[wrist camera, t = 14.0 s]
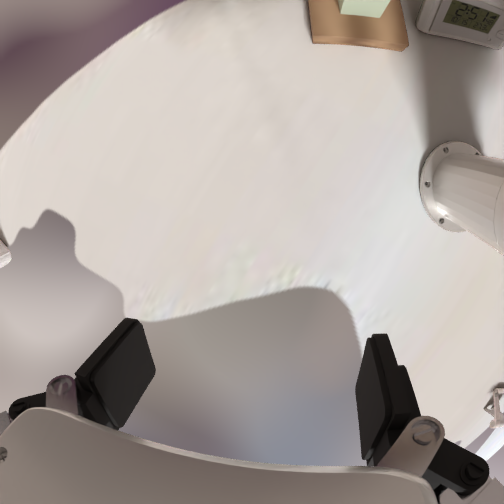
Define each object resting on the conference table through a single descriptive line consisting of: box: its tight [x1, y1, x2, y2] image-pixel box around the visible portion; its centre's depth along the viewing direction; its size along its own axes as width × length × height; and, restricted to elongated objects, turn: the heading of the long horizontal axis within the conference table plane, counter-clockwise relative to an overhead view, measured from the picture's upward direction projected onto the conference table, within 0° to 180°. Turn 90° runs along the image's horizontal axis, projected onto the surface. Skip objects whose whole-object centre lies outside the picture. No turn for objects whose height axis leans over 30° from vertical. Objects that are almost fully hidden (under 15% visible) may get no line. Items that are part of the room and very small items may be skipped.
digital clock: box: [416, 0, 504, 50], centre depth 17 cm, size 16×9×11 cm, turn 87°
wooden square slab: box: [308, 0, 409, 52], centre depth 24 cm, size 12×12×3 cm
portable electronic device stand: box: [484, 388, 504, 428], centre depth 39 cm, size 9×8×8 cm
